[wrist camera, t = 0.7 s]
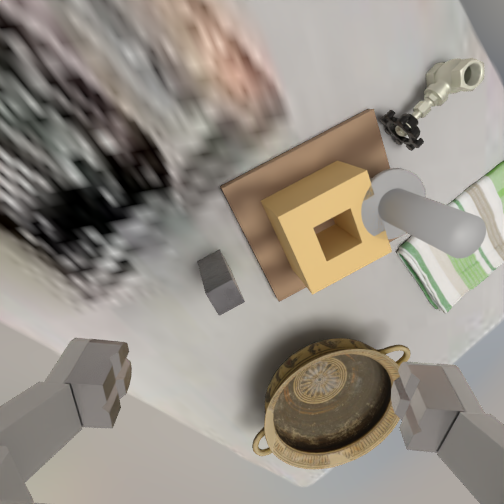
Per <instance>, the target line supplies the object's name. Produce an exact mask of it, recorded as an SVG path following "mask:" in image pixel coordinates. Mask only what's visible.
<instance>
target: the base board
mask: <svg viewBox="0 0 504 504" xmlns="http://www.w3.org/2000/svg"><path fill="white" fill-rule="evenodd" d="M335 161H340V162H344V163H347V164H350V165H353V166H356V167H359V168H362V169H365V170H367V172H368V175H369V178H373V177H374V176H375V175H377V174H378V173H380V172H382V171H384V170H387V169H390V167H389V163H388V159H387V156H386V152H385V148H384V145H383V141H382V137H381V134H380V130H379V127H378V123H377V119H376V116H375V112H374V109H367V110H365V111H363V112H361V113H360V114H358V115H356V116H354V117H352V118H350V119H348V120H346V121H344V122H342V123H340V124H338V125H337V126H335V127H333V128H331V129H329V130H327V131H325V132H323V133H321V134H319V135H317V136H315V137H314V138H312V139H310V140H308V141H306V142H304V143H302V144H300V145H298V146H296V147H294V148H293V149H291V150H289V151H287V152H285V153H283V154H281V155H279V156H277V157H275V158H273V159H271V160H270V161H268V162H266V163H264V164H262V165H260V166H258V167H256V168H254V169H252V170H250V171H248V172H247V173H245V174H243V175H241V176H239V177H237V178H235V179H233V180H231V181H229V182H227V183H226V184H224V185H222V186H220V187H221V189H222V191H223V193H224V195H225V197H226V199H227V201H228V203H229V205H230V207H231V209H232V211H233V213H234V215H235V217H236V219H237V221H238V223H239V225H240V227H241V229H242V231H243V232H244V234H245V236H246V238H247V240H248V242H249V244H250V246H251V248H252V250H253V252H254V254H255V256H256V258H257V260H258V262H259V264H260V266H261V268H262V270H263V272H264V274H265V276H266V278H267V280H268V282H269V284H270V286H271V288H272V290H273V292H274V294H275V296H276V297H277V299H278V301H279V302H280V301H281V300H283V299H285V298H287V297H289V296H291V295H293V294H294V293H296V292H298V291H300V290H302V289H304V288H306V286H305V284H304V283H303V282H302V281H301V279H300V278H299V277H298V276H297V275H296V273H295V272H294V271H293V270H292V267H291V265H290V263H289V261H288V259H287V257H286V254H285V252H284V250H283V248H282V246H281V244H280V241H279V239H278V237H277V235H276V233H275V231H274V229H273V226H272V224H271V222H270V220H269V218H268V216H267V213H266V211H265V209H264V207H263V205H262V203H261V200H263V199H265V198H267V197H269V196H271V195H273V194H275V193H276V192H278V191H280V190H282V189H284V188H286V187H288V186H290V185H292V184H294V183H295V182H297V181H299V180H301V179H303V178H305V177H307V176H309V175H311V174H313V173H314V172H316V171H318V170H320V169H322V168H324V167H326V166H328V165H330V164H332V163H333V162H335ZM334 224H335V222H334V219H333V218H331V219H329V220H327V221H325V222H323V223H321V224H319V225H318V226H316V227H314V228H313V229H314V231H315V234H317V233H319V232H321V231H323V230H325V229H327V228H329V227H331V226H333V225H334ZM405 234H406V233H405ZM397 238H398V237H397ZM397 238H394V239H388V240H389V242H391V241H393V240H395V239H397Z"/></svg>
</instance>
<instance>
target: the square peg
mask: <svg viewBox="0 0 504 504" xmlns="http://www.w3.org/2000/svg"><path fill="white" fill-rule="evenodd" d="M198 265H199V269H200V273H201V277H202V281H203V285H204V289H205V293H206V295H207V297H208V298H209V300H210V302H211V303H212V305H213V306H214V308H215V310H216V311H217V313H218V315H221V314H223V313H225V312H227V311H229V310H231V309H232V308H234V307H236V306H238V305H240V304H242V303H244V302H245V301H244V299H243V297H242V294H241V292H240V290H239V287H238V285H237V283H236V281H235V278H234V276H233V274H232V271H231V269H230V267H229V265H228V264H227V262H226V260H225V258H224V256H223V255H222V253H221V251H220V250H218V251H216V252H214V253H212V254H210V255H209V256H207V257H205V258H203V259H201V260H199V261H198Z"/></svg>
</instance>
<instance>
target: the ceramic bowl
mask: <svg viewBox="0 0 504 504" xmlns="http://www.w3.org/2000/svg"><path fill="white" fill-rule="evenodd" d="M398 350H401V351H404V354H403V356H402V357H401V358H400V359H399V360H398V361H396V362H395V361H394V360H393V359H390V358H389V357H388V356H387V355H385V354H387V353H390V352H393V351H398ZM409 358H410V350H409V349H408V348H407V347H406V346H403V345H394V346H389V347H386V348H384V349H379V350H376V349H374V348H372V347H370V346H368V345H367V344H365V343H363V342H360V341H357V340H353V339H345V338H335V339H327V340H322V341H319V342H316V343H313V344H310V345H308V346H306V347H304V348H302V349H300V350H299V351H297V352H296V353H294V354H293V355H292V356H290V357H289V358H288V359H287V360H286V361H285V362H284V363H283V364H282V365H281V366H280V367H279V368H278V370H277V371H276V372H275V374H274V376H273V377H272V379H271V381H270V384H269V386H268V389H267V392H266V396H265V423H264V428H262V429H261V430H260V432H259V433H258V434H257V435H256V437H255V438H254V441H253V445H252V448H253V451H254V452H255V453H256V454H257V455H259V456H266V455H269V454H271V453H273V454H274V455H275V456H276V457H278V458H279V459H280V460H282V461H283V462H285V463H287V464H289V465H292V466H295V467H298V468H304V469H324V468H330V467H335V466H338V465H342V464H345V463H347V462H350V461H352V460H355V459H357V458H359V457H361V456H363V455H365V454H366V453H368V452H369V451H371V450H372V449H374V448H375V447H376V446H377V445H379V444H380V443H381V442H382V441H383V440H384V439H385V438H386V437H387V436H388V435H389V434H390V433H391V432H392V430H393V429H394V428H395V426H396V425H397V423H398V421H399V419H400V418H399V417H398V416H397V415H396V414H395V413H394V410H393V406H392V401H391V388H392V385H393V382H394V380H396V379H397V378H399V377H400V375H399V372H398V369H399V366H400V364H401V363H402V362H407V361H408V359H409ZM264 435H265V437H266V441H267V443H268V446H269V448H267V449H263V450H262V449H259V448H258V444H259V441H260V439H261V438H262V437H263V436H264Z"/></svg>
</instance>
